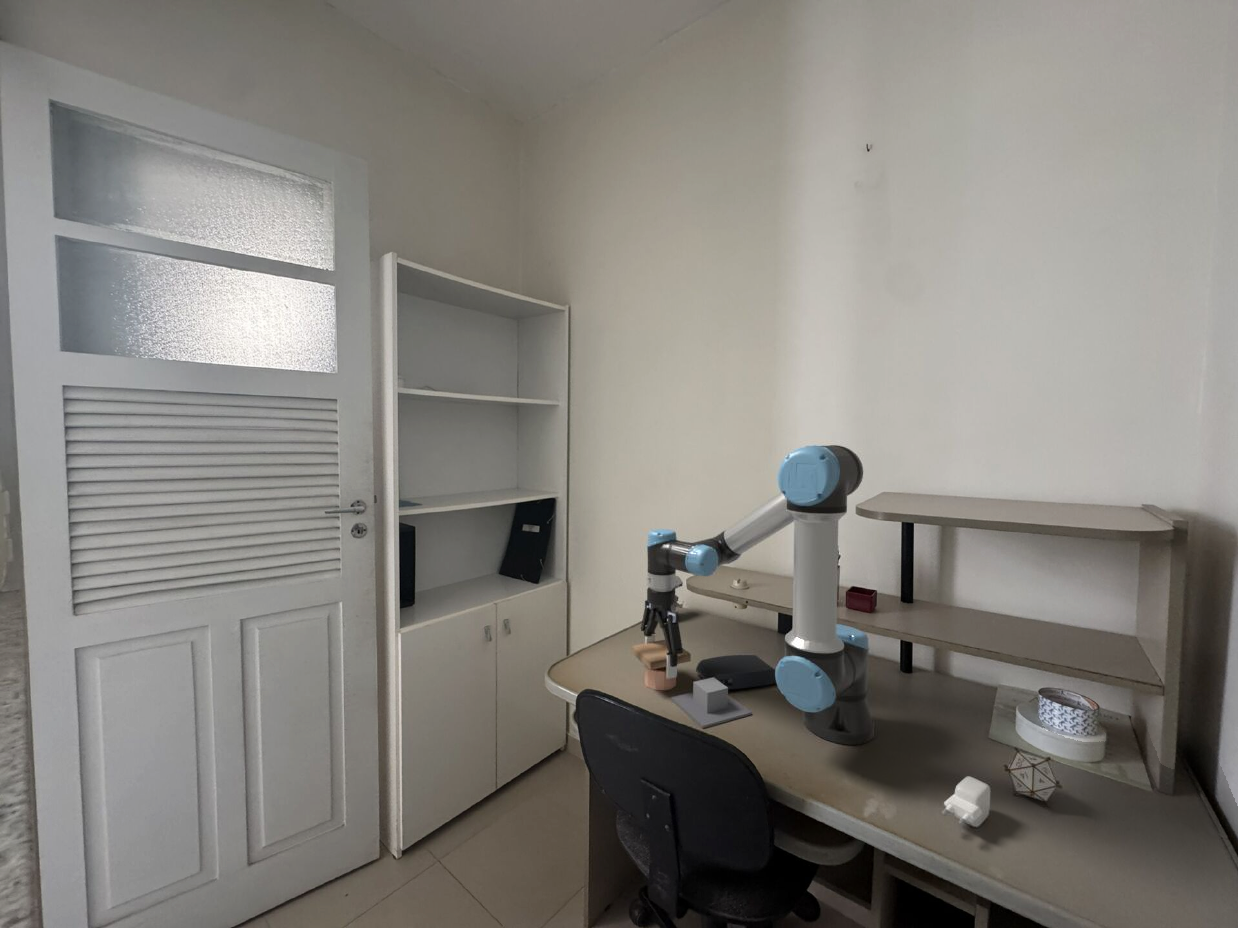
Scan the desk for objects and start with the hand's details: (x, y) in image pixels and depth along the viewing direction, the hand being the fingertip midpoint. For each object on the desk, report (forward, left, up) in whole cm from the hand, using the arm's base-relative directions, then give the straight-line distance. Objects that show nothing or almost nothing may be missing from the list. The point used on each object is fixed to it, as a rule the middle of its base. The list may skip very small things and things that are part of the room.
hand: (660, 667), depth 139 cm
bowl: (0, 0, -4) cm, 4 cm away
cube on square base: (-16, -5, -4) cm, 17 cm away
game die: (-67, -41, -4) cm, 79 cm away
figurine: (+41, -27, -4) cm, 49 cm away
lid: (0, 0, +3) cm, 3 cm away
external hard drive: (-7, -20, -4) cm, 22 cm away
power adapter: (-66, -23, -4) cm, 70 cm away
